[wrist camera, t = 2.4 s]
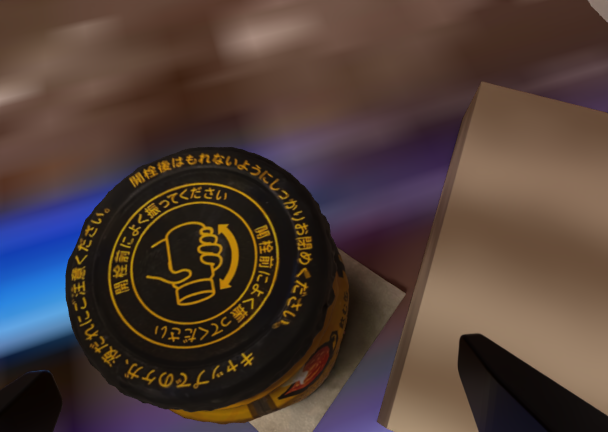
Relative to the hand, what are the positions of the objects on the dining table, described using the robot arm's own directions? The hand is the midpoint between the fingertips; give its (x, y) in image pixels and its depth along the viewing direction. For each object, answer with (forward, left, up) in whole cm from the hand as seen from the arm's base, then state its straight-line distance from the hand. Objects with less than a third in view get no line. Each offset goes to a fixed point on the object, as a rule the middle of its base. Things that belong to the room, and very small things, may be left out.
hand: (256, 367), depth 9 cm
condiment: (+2, 0, -10) cm, 10 cm away
